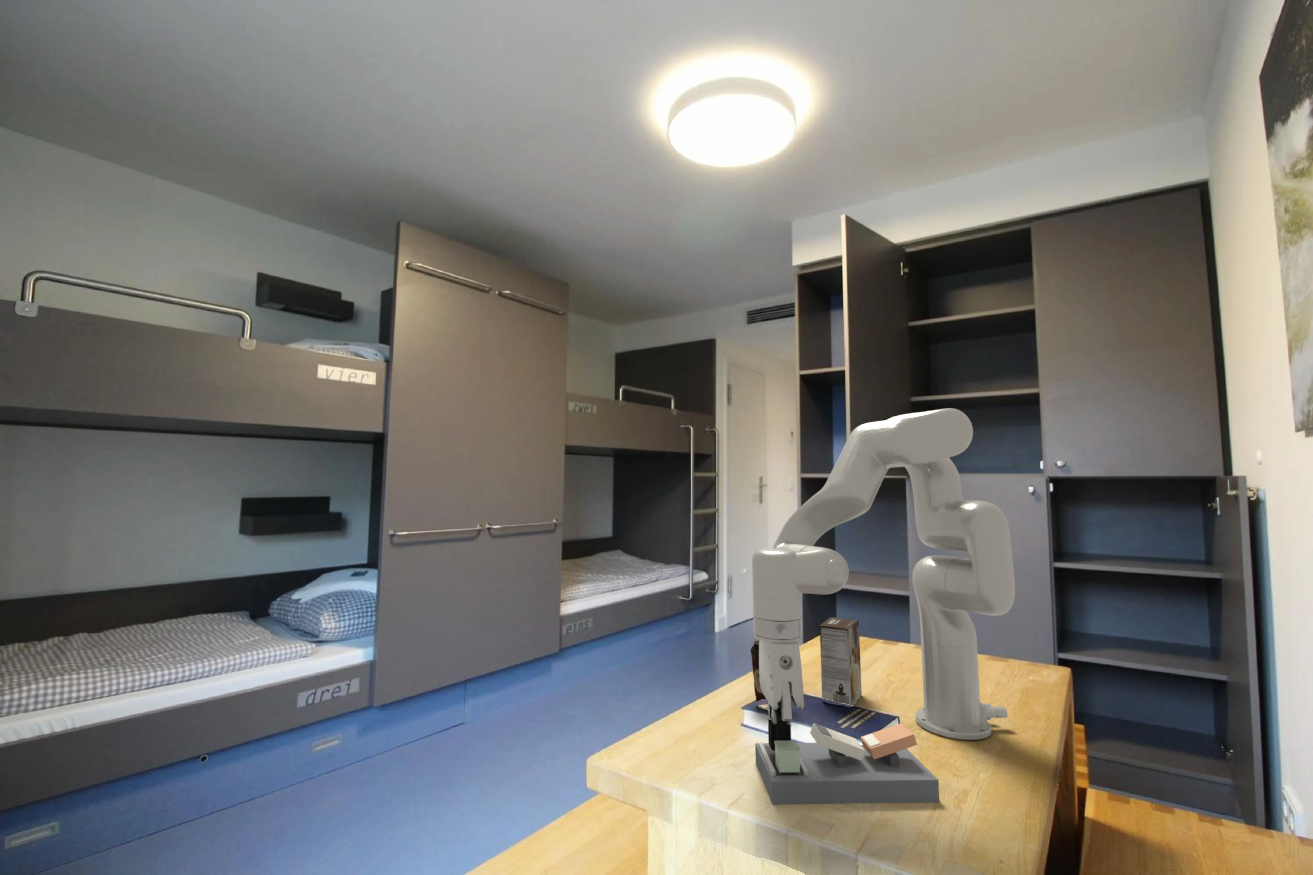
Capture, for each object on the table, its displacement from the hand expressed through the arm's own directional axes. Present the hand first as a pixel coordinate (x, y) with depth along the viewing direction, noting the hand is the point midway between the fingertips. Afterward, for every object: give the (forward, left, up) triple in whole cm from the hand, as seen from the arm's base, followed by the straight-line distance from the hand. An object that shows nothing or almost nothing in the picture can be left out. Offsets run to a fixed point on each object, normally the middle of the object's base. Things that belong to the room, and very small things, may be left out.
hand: (779, 747), depth 86 cm
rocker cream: (-8, +2, +2) cm, 9 cm away
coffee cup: (-5, -27, -4) cm, 28 cm away
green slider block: (0, +5, -1) cm, 5 cm away
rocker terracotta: (-16, +2, +2) cm, 17 cm away
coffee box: (-21, -31, -4) cm, 38 cm away
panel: (-9, +2, -4) cm, 10 cm away
